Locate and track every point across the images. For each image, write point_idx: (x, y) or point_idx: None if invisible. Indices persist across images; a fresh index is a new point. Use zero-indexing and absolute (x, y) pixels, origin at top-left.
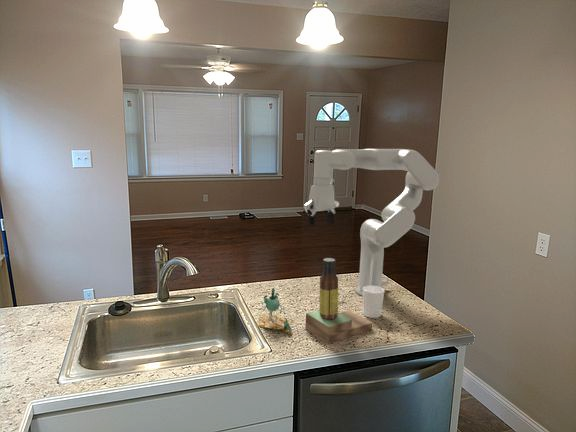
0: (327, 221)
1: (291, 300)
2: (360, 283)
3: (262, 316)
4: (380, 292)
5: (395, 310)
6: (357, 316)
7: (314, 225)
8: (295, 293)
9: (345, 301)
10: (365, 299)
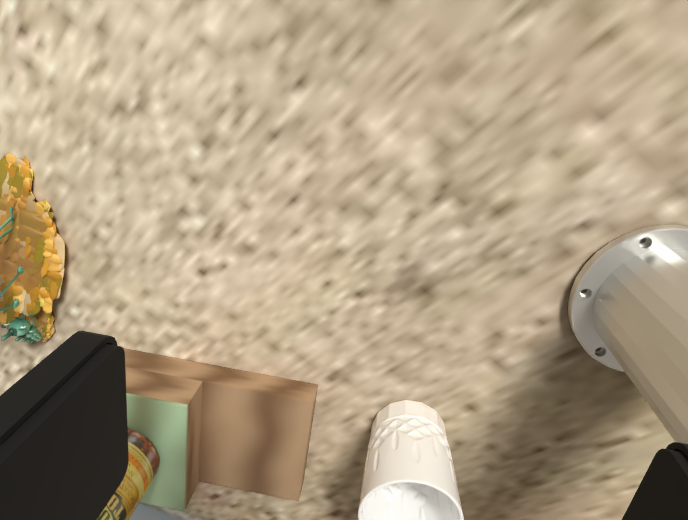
0: (670, 469)
1: (234, 106)
2: (619, 301)
3: (8, 167)
4: (453, 511)
5: (515, 467)
6: (294, 449)
7: (120, 478)
8: (319, 40)
9: (441, 291)
10: (363, 475)
